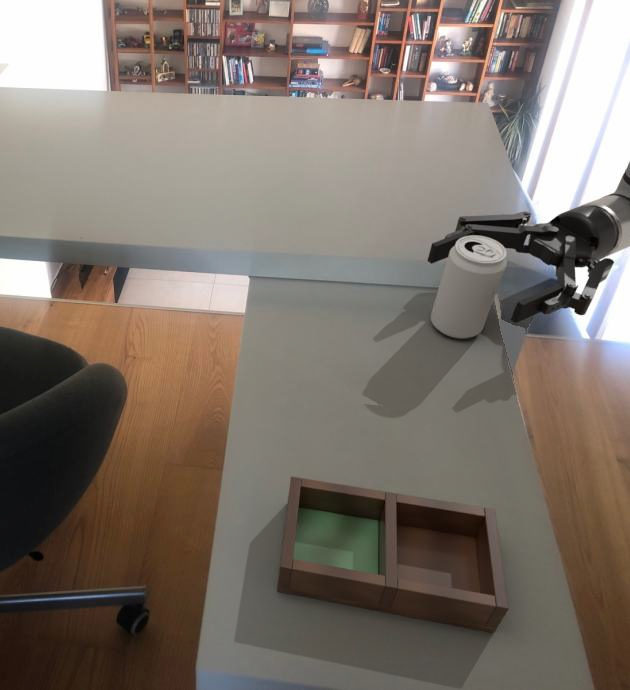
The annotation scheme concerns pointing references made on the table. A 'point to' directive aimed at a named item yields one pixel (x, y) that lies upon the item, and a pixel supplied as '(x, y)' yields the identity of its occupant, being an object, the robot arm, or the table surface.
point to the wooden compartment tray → (393, 554)
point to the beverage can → (468, 286)
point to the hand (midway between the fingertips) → (471, 281)
